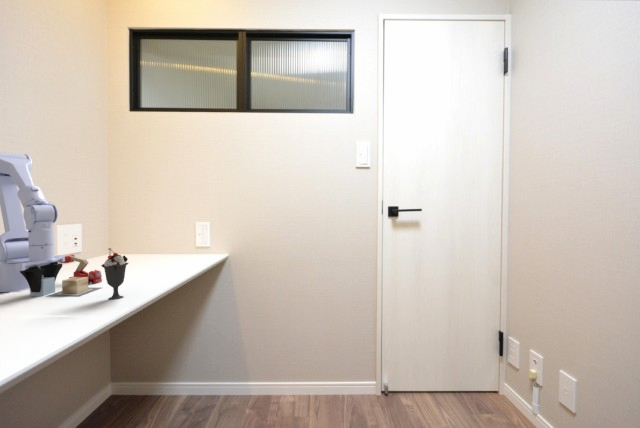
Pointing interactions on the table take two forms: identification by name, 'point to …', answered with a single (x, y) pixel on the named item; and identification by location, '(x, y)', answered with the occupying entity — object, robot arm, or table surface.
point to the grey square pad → (59, 294)
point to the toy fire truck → (92, 276)
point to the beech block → (74, 285)
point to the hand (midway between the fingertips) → (42, 289)
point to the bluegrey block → (45, 287)
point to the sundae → (115, 272)
